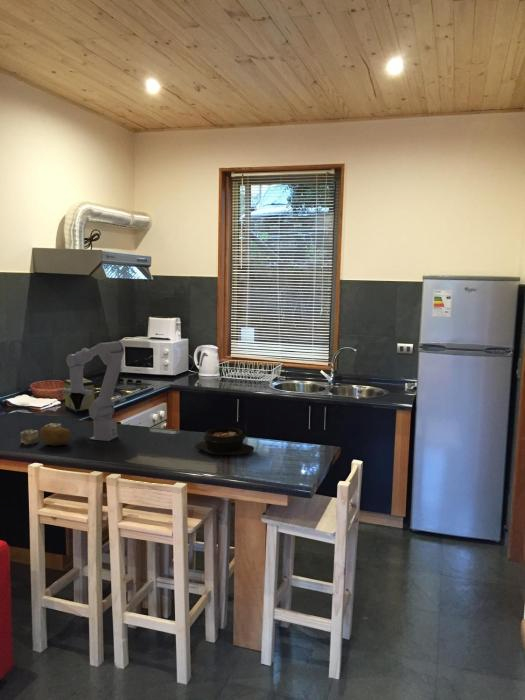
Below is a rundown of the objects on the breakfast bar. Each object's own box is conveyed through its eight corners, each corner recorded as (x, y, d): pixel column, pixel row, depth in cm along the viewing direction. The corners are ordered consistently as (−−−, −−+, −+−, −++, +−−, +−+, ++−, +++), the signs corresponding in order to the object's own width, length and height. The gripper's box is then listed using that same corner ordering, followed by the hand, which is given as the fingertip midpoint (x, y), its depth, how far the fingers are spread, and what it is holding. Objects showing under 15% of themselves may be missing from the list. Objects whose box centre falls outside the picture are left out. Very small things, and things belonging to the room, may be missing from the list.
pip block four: (38, 441, 246) (38, 430, 245) (31, 444, 241) (30, 433, 240) (28, 440, 247) (28, 429, 246) (21, 443, 242) (20, 432, 241)
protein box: (83, 405, 313) (82, 377, 311) (95, 410, 301) (94, 381, 299) (64, 408, 307) (63, 379, 305) (76, 413, 295) (74, 384, 293)
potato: (61, 450, 233) (61, 431, 232) (34, 446, 238) (33, 428, 237) (77, 443, 243) (76, 425, 241) (50, 440, 247) (50, 422, 246)
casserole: (186, 454, 230) (186, 434, 229) (208, 442, 247) (208, 423, 245) (242, 462, 220) (242, 441, 219) (261, 449, 237) (261, 429, 236)
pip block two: (61, 434, 256) (61, 423, 256) (54, 437, 252) (54, 426, 251) (51, 433, 258) (51, 422, 257) (44, 436, 253) (44, 425, 252)
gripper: (95, 379, 260) (96, 408, 262) (67, 377, 264) (69, 406, 266) (86, 382, 253) (88, 412, 255) (58, 380, 257) (59, 409, 259)
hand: (77, 409), depth 260 cm, fingers closed
